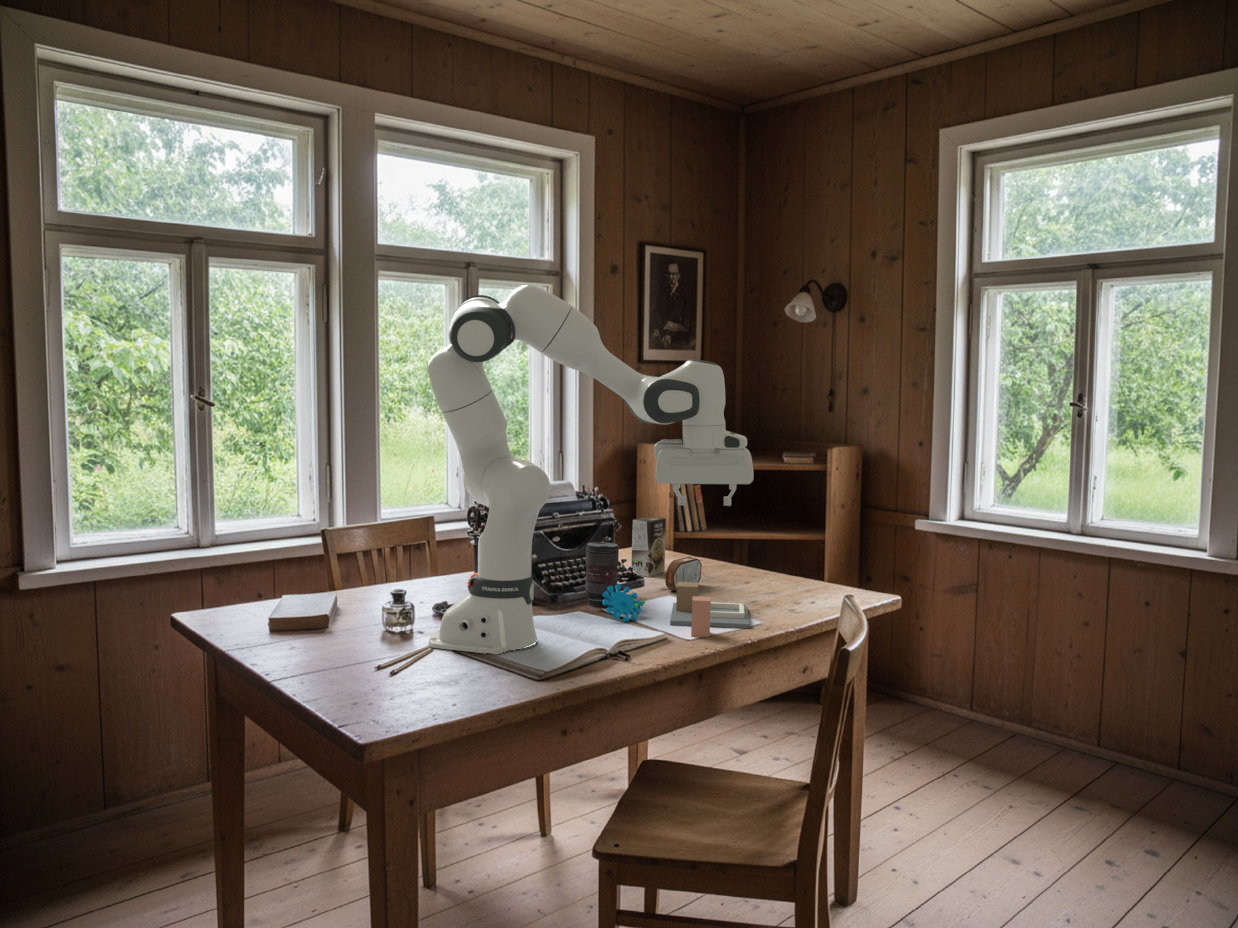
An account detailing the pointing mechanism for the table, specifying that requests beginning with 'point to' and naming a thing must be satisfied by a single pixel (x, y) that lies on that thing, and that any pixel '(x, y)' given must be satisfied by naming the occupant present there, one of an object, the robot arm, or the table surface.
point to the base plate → (719, 612)
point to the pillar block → (701, 616)
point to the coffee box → (648, 546)
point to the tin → (683, 572)
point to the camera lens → (600, 571)
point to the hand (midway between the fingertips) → (704, 505)
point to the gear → (622, 603)
